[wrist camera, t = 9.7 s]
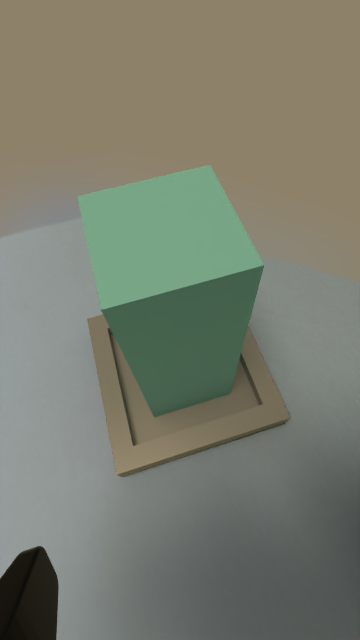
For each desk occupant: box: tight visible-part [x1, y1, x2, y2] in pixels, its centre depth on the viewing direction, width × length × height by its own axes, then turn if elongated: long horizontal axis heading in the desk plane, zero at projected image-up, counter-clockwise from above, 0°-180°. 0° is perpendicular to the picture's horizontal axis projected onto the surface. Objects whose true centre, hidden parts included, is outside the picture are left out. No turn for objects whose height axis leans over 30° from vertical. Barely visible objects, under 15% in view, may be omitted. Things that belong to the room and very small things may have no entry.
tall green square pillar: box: [77, 165, 264, 417], centre depth 17 cm, size 5×5×13 cm
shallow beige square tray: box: [88, 315, 291, 477], centre depth 22 cm, size 10×10×2 cm
